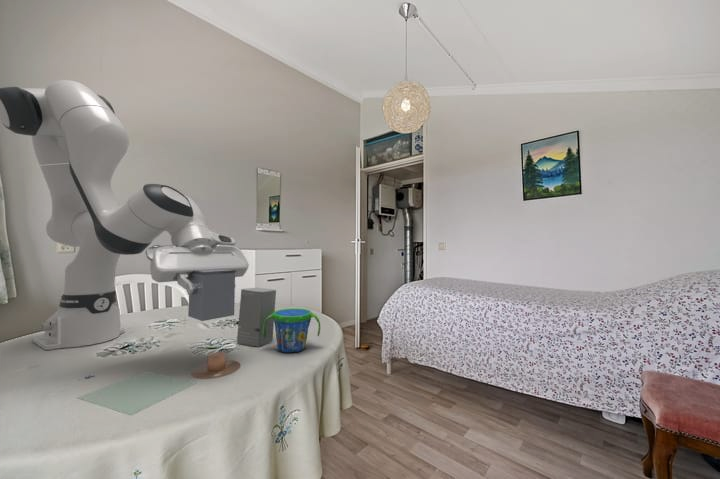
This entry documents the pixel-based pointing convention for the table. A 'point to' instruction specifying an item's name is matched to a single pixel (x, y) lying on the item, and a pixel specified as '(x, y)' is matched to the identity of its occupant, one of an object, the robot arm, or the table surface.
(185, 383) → the mat
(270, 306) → the skincare box
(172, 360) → the table surface
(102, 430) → the table surface
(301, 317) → the snack cup
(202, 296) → the gray box
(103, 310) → the robot arm
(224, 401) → the table surface
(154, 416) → the table surface
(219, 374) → the brown knobbed lid
